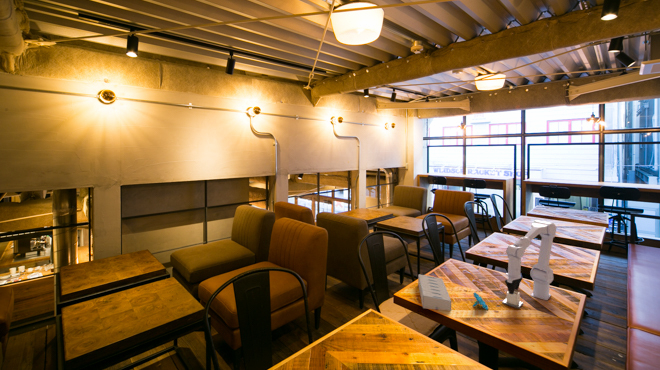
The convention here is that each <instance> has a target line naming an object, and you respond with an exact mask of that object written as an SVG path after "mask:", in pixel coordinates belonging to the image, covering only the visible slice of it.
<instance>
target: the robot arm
mask: <svg viewBox="0 0 660 370" xmlns="http://www.w3.org/2000/svg"><path fill="white" fill-rule="evenodd" d="M556 233H557V226H556V224H555V223H554V222H548V221H543V220H542V221H541V220H538V219H535V220H534V221H533V222H532V223H531V228H529V231H528V232H527V233H526V234H525V236H521V237H520V238H518V239H517V240H516V241H515V242H514V243H513V244H511V245H508V247H506V251H505V252H506V255H507V259H508V263H507V264H508V265H507V266H508V267H507V272H506V273H505V276H507V279H505V280H504V283H505V285H506V287H507V292H509V294H514V291H518V290H519V288H520V284H521V282H522V280H524V279H523V278H524V277H523V276H522V275H521V271H522V270H521V269H522V268H521V264H522V258H523V257H524V254H525V252H526V250H527V248H529V247H530V246H531V243H532V242H531V241H533V239H535V238H536V237H537V236H538V235H539V236H540V237H541V239H540V240H541V241H540V247H539V252H538V256H537V257H538V259H537V263H535V264H533V265H532V268H531V270H530V271H529V272H530V273H529V274H530V277H531V278H532V280H533V288H532V289H533V290H532V293H530V296H531V297H533V298H537V299H541V300H544V301H548V300H549V299H550V297H551V296H552V294H550V284H552V282H553V281H554V270H553V269H552V268H551V267H550V259H551V253H552V247H553V243H554V241H553V240H554V238H555V237H556Z"/></svg>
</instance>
